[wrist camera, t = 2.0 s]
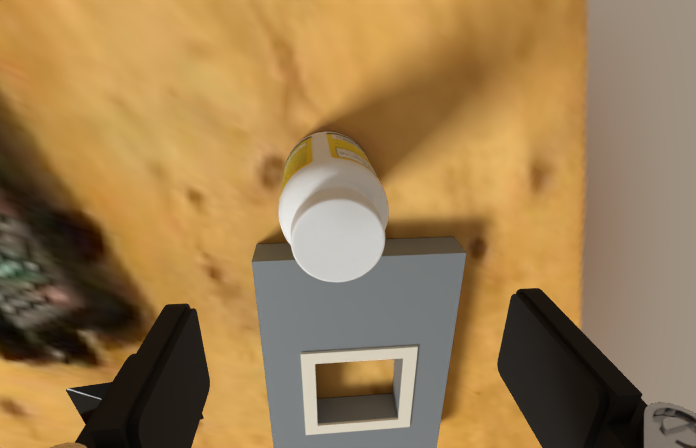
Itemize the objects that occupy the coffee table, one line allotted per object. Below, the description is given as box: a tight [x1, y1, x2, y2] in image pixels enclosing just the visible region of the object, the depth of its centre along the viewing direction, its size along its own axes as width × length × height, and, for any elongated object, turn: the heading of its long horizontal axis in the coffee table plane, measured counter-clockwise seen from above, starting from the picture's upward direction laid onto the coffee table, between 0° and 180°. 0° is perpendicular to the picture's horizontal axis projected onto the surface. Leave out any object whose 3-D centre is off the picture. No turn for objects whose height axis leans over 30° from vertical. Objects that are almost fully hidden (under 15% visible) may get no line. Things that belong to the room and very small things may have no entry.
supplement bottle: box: [279, 132, 389, 282], centre depth 20 cm, size 5×5×10 cm
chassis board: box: [252, 237, 466, 448], centre depth 30 cm, size 20×14×3 cm
